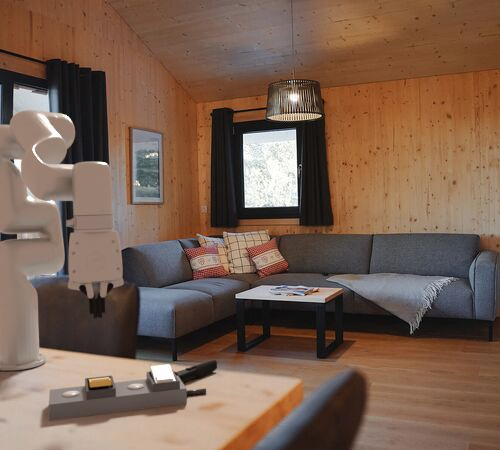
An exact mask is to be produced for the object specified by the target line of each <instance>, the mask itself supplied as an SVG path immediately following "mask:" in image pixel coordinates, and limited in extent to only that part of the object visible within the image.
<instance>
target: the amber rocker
mask: <svg viewBox="0 0 500 450" xmlns="http://www.w3.org/2000/svg"><path fill="white" fill-rule="evenodd" d="M108 385H112V382H111V379H110V378H109V377H105V378H96V379H89V386H90V388H91V387H99V386H108Z"/></svg>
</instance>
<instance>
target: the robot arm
mask: <svg viewBox="0 0 500 450" xmlns="http://www.w3.org/2000/svg"><path fill="white" fill-rule="evenodd" d="M75 128H76V127H75V125H74V123H73V120H72V119H71V118H70V117H69V116H67V114H63V113H60V112H54V111H53V112H52V111H51V112H50V111H42V110H31V109H27V110H22V111H18V112H16V113H15V114H14V115H13V116H12V118H11V119H10V122H9V124H0V233H1V234H5V235H24V234H28V235H29V234H38V237H35V238H34V237H33V238H29V237H28V238H25V237H24V238H10V239H6V240H2V241H0V371H3V372H4V371H8V372H10V371H11V372H12V371H20V370H21V371H22V370H27V369H31V368H36V367H39V366H42V365H43V364H45V363H46V361H47V357H46V355H44V354H43V353H40V337H39V336H40V333H39V331H40V330H39V329H40V328H39V297H38V292H37V290H36V288H35V287H34V286H33V284H32V283H31V282H30V281H29V280H28V277H32V276H43V275H48V274H49V275H51V274H55V273H58V272H60V271H62V269H63V267H64V265H65V259H66V258H65V256H66V255H65V246H64V244H65V243H64V237H63V236H64V235H63V228H62V219H61V213H60V209H59V206H58V205H57V203H56V202H69V201H70V202H72V209H73V211H72V212H73V218H71V219H65V222H66V223H65V226H66V228H67V227H68V228H69V227H70V228H72V229H74V230H73V231H74V232H70V234H69V240H68V241H69V242H68V264H67V265H68V283H67V288H68V290H75V291H79V292H82V293H83V294H84V295H85V296H86V297H87V298H88V309H89V315H92V317H93V319H94V320H95V319H97V318H99V319H102V318H103V314H105V313H106V300H105V299H106V296H107V295H108V294H109V293H110V291H111V290H112V289H115V288H118V287H122V286H123V285H124V284H125V282H124V278H123V274H124V273H123V268H124V267H123V257H122V256H123V255H122V246H121V240H120V235H119V233H118V232H119V231H118V230H114V210H113V185H112V184H113V183H112V168H111V166H110V165H109V164H108V163H107V162H103V161H79V162H76V163H75V164H68V163H67V164H66V163H65V164H64V163H62V162H63V161H64V160H65V158H66V155H67V152H68V151H67V150H68V149H70V147H72V144H73V143H74V140H75V138H76V129H75ZM11 160H21V162H20V168H19V167H18V166H17V165H16V164H15V163H13V162H12V161H11ZM28 190H29V191H30V193H31V194H32V195H33V196H30V195H29V193H28ZM95 283H98V284H99V291H98V293H97V296H96V294H95V293H94V287H93V284H95Z"/></svg>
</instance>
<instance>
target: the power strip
mask: <svg viewBox="0 0 500 450" xmlns="http://www.w3.org/2000/svg"><path fill="white" fill-rule="evenodd" d="M171 370H172V372H173V371H174V370H173V369H172V368H171ZM174 372H175V371H174ZM174 372H173V375H174V377H175V380H176V381H170V382H161V383H154V381H153V377H152V374H151V371H150V370H149V371H146V378H144V379H136V380H128V381H127V380H126V381H118V382H117V381H116V382H114V378H113V375H106V376H105V375H104V376H93V377H87V378H84V385H81V386H79V385H78V386H73V387H63V388H52V389H50V390H49V394H48V395H49V399H48V420H49V421H57V420H66V419H74V418H80V417H88V416H89V417H90V416H97V415H104V414H112V413H121V412H128V411H136V410H143V409H152V408H160V407H170V406H176V405H184V404H185V405H186V404H187V403H188V399H187V398H188V396H194V395H195V396H196V395H202V394H203V395H204V394H207V388H198V389H188V390H187V387H186V385H185V384H184V382H182V381H181V379H180V378H179V377H178V376H176V375H175V373H174ZM105 377H109V378H110V379H111V382H112V385H108V386H99V387H91V388H90V386H89V379H96V378H105Z"/></svg>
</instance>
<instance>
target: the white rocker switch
mask: <svg viewBox="0 0 500 450" xmlns="http://www.w3.org/2000/svg"><path fill="white" fill-rule="evenodd" d="M171 369H172V367H171V364H170V363H169V364H160V365H151V366H150V370H149V372H150V371H151V374H152V377H153V381H154V383H161V382H170V381H176V380H175V377H174V375H173V372H172V370H173V369H172V370H171Z"/></svg>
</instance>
